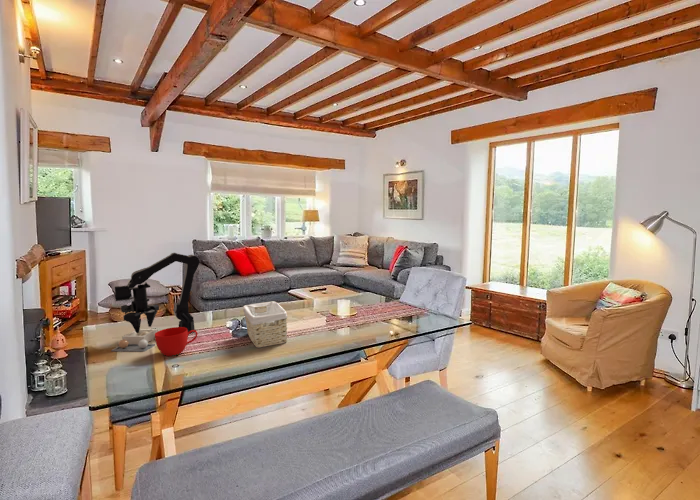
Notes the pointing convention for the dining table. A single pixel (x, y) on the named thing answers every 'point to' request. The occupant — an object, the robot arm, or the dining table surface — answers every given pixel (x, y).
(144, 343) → the glossy white ball
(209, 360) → the dining table surface
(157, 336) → the ceramic cup
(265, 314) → the storage basket
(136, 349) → the slate tray
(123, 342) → the orange tan ball
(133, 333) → the stoneware dish
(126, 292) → the robot arm
